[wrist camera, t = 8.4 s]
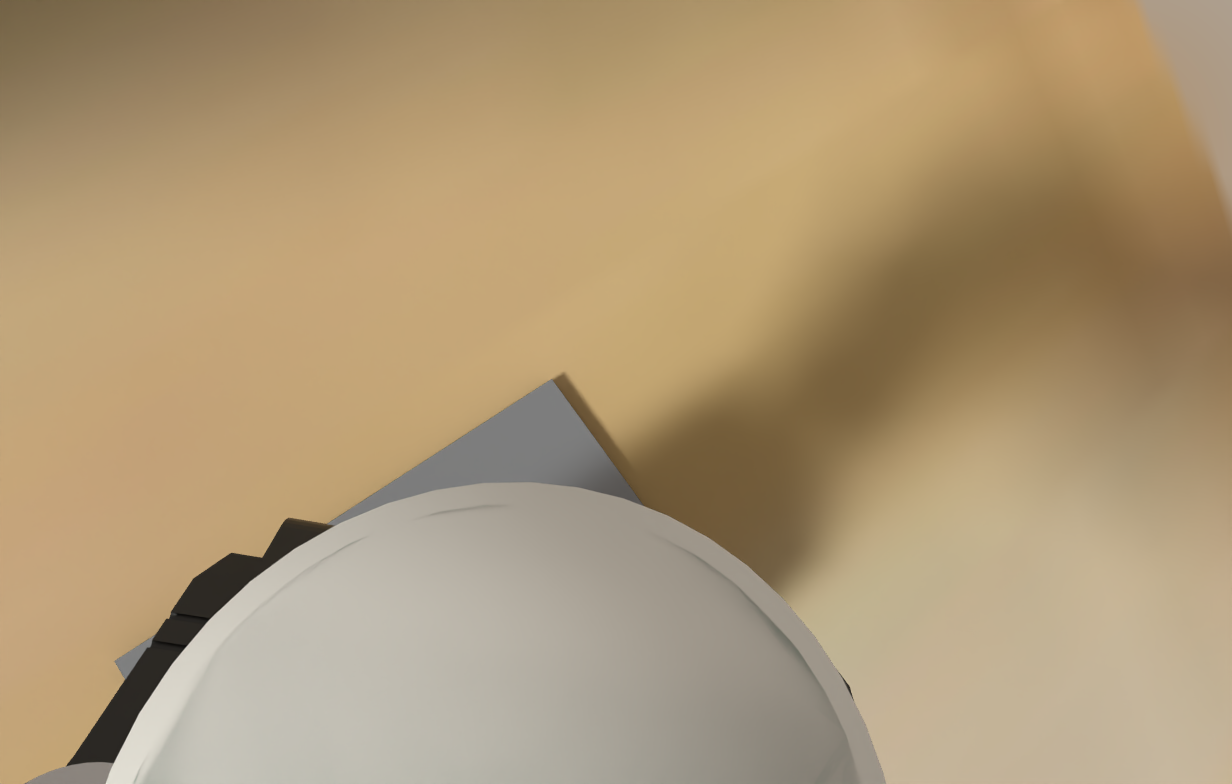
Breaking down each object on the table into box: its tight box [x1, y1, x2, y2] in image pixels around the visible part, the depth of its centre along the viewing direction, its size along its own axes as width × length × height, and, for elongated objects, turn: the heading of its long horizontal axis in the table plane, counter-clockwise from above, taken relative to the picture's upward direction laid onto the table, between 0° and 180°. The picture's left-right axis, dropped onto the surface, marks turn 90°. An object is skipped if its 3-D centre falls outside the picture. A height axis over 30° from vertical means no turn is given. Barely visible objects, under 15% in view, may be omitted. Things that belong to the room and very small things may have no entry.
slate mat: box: [115, 379, 644, 679], centre depth 25 cm, size 14×14×1 cm
